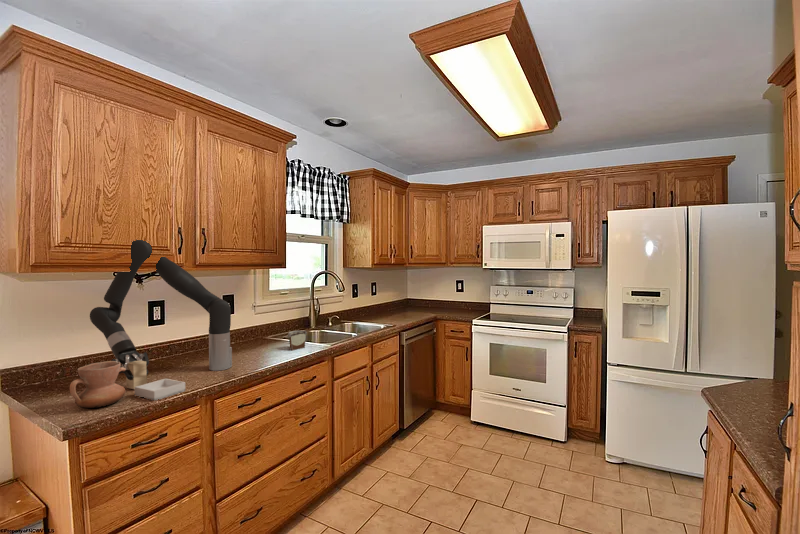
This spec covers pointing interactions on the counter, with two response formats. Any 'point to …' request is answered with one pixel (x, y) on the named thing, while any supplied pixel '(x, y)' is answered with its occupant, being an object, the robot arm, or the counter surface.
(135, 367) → the block
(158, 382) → the tray
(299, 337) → the food container
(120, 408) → the counter surface
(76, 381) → the ceramic jug
